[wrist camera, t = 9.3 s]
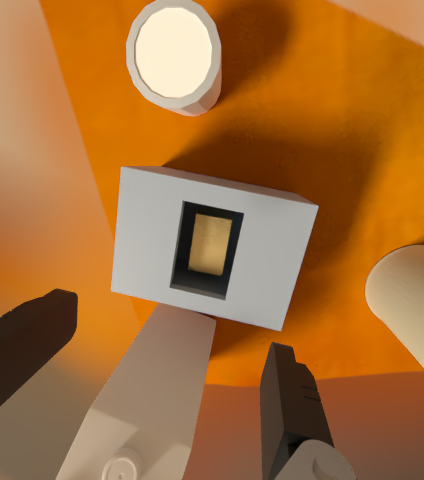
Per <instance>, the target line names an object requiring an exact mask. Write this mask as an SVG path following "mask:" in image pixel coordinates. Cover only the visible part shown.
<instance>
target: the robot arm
mask: <svg viewBox="0 0 424 480" xmlns="http://www.w3.org/2000/svg"><path fill="white" fill-rule="evenodd" d="M77 303H78V297H77V294H76V293H74V292H70V291H66V290H61V289H54V290H53V291H51V292H50V293H48V294H46V295H44V296H43V297H39V298H36V299H33V300H30V301H27V302H24V303H23V304H21V305H19V306H17V307H16V308H14V309H13V310H12V311H9V312H7V313H6V314H4V315H2V317H1V318H0V406H1V405H2V404H3V403H4V402H5V401H6V400H7V399H9V397H11V396H12V395H13V394H14V393H15V392H16V391H17V390H18V389H19V388H20V387H21V386H22V385H23V384H24V383H25V382H27V380H28V379H30V378H31V377H32V376H33V375H34V374H35V373H36V372H37V371H38V370H39V369H40V368H41V367H42V366H43V365H45V364H46V363H47V362H48V361H49V360H50V359H51V358H52V357H53V356H54V355H55V354H56V353H57V352H58V351H59V350H60V349H62V348H63V347H64V346H65V345H66V344H67V343H68V342H69V341H70V340H71V338H72V337H73V335H74V333H75V331H76V327H77V305H78V304H77ZM260 407H261V408H260V409H261V443H262V474H263V475H262V476H263V480H357V479H356V477H355V474H354V472H353V470H352V468H351V466H350V465H349V463H348V462H347V461H346V459H345V458H344V457H343V456H342V455H341V454H340V453H339V452H338V451H337V450H336V449H335V447H334V444H333V441H332V438H331V434H330V431H329V427H328V423H327V420H326V417H325V413H324V410H323V406H322V403H321V399H320V396H319V393H318V392H317V386H316V382H315V379H314V376H313V375H312V373H311V372H310V371H309V369H308V368H307V367H306V365H305V364H301V363H297V362H296V360H295V355H294V351H293V348H292V347H291V346H287V345H283V344H279V343H275V342H272V343H271V345H270V349H269V352H268V356H267V359H266V363H265V366H264V370H263V373H262V377H261V384H260Z"/></svg>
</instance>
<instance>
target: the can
mask: <svg viewBox="0 0 424 480" xmlns="http://www.w3.org/2000/svg"><path fill="white" fill-rule="evenodd" d="M365 296H366V300H367V303H368V305H369V307H370V309H371V310H372V312H373V313H374V314H375V315H376V316H377V317H378V318H379V319H381V320H382V321H383V322H384V323H385V324H386V325H387V326H388V327H389V328H390V330H391V331H392V332H393V333H394V334H395V335H396V336H397V338H398V339H399V340H400V341H401V342H402V343H403V344H404V346H405V347H406V348H407V349H408V350H409V351H410V352H411V354H412V355H413V356H414V357H415V358H416V359H417V360H418V362H419V363H420V364H421V365H422V366H423V368H424V245H411V246H406V247H403V248H399V249H397V250H395V251H392V252H391V253H389V254H387V255H386V256H384V257H383V258H382V259H381V260H379V261H378V262H377V263H376V265H375V266H374V267H373V268H372V270H371V272H370V273H369V275H368V278H367V281H366V285H365Z"/></svg>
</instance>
